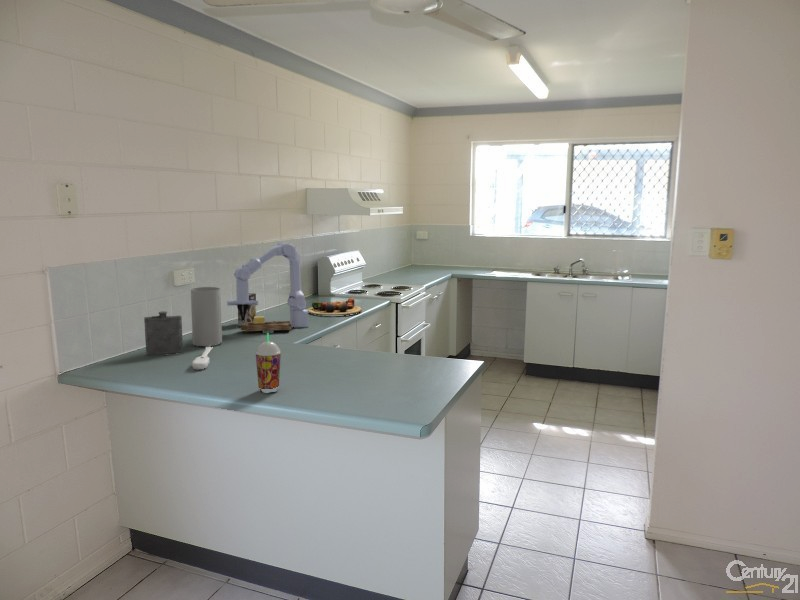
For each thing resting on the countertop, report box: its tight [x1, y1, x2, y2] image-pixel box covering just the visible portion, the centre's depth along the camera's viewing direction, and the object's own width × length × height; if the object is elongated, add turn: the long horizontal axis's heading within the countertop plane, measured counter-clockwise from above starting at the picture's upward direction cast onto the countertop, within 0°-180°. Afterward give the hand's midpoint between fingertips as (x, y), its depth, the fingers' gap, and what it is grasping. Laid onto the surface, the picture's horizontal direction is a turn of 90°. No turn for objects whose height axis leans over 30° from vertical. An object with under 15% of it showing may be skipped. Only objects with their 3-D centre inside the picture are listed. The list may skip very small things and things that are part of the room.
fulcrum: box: [262, 330, 274, 335], centre depth 290 cm, size 5×9×2 cm, turn 14°
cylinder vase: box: [190, 286, 223, 347], centre depth 261 cm, size 12×12×25 cm
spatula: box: [191, 346, 214, 370], centre depth 234 cm, size 28×6×3 cm, turn 9°
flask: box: [143, 310, 184, 356], centre depth 243 cm, size 4×14×18 cm, turn 108°
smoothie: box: [255, 333, 282, 389], centre depth 197 cm, size 8×8×20 cm
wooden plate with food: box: [307, 297, 363, 315], centre depth 346 cm, size 32×32×8 cm
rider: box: [254, 315, 266, 324], centre depth 289 cm, size 5×5×5 cm
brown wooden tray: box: [240, 320, 292, 332], centre depth 290 cm, size 24×8×3 cm, turn 104°
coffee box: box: [237, 292, 257, 327], centre depth 305 cm, size 9×6×16 cm
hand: (243, 319), depth 287 cm, fingers closed
